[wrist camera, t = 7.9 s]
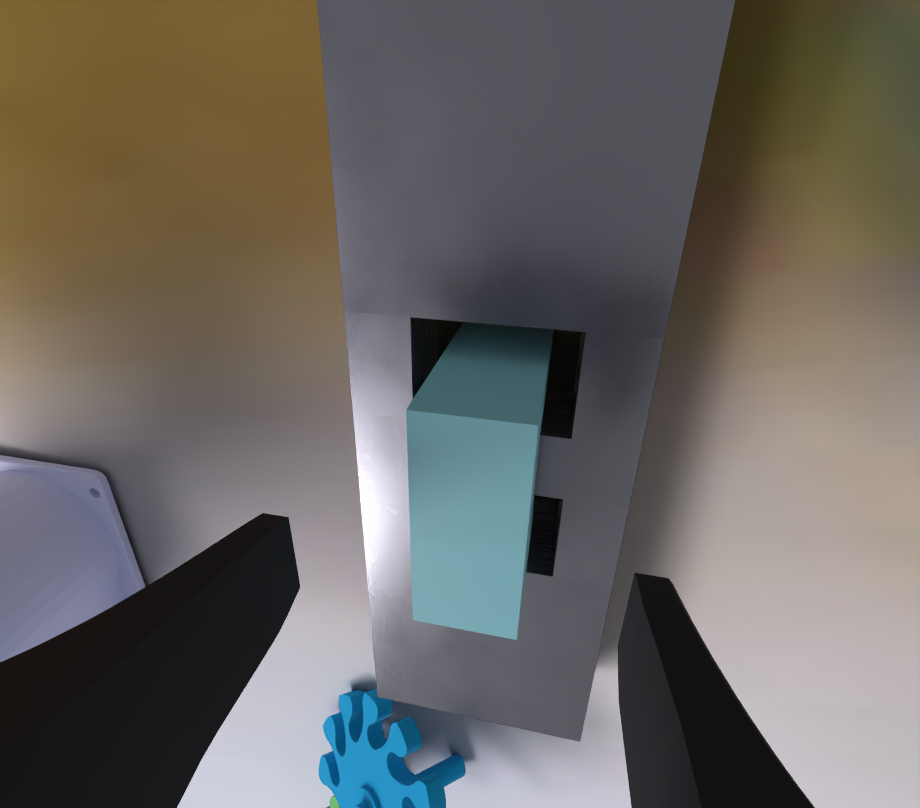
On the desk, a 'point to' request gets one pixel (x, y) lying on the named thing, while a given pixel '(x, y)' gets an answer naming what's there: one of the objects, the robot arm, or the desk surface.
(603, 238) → the grey board with slots
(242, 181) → the desk surface
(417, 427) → the upright aqua box
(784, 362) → the desk surface
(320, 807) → the desk surface
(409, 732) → the blue lumpy piece
